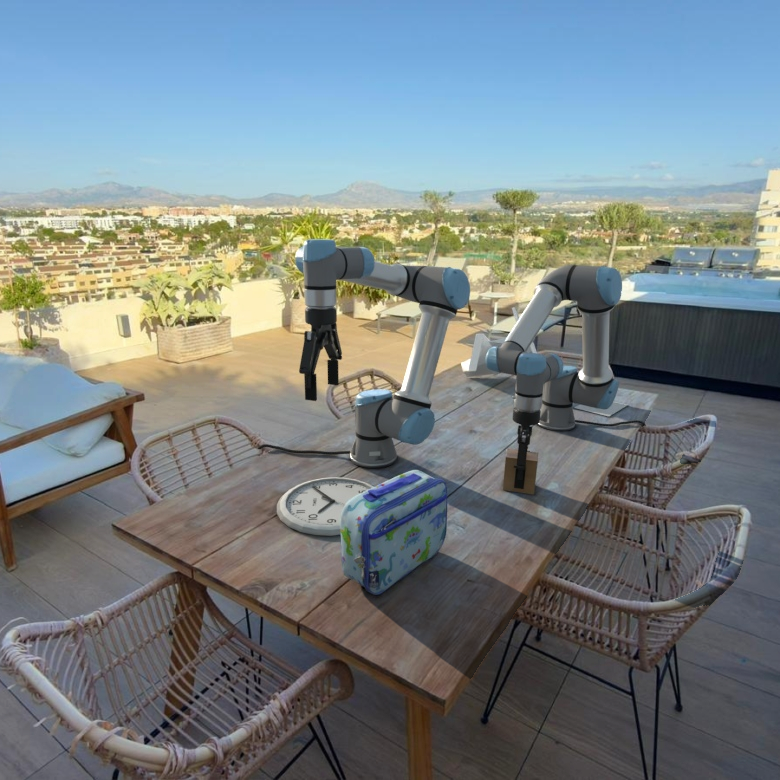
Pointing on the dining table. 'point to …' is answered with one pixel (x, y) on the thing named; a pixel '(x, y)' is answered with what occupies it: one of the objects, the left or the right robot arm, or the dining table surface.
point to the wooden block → (529, 473)
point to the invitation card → (606, 412)
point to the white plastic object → (479, 352)
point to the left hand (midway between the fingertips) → (322, 392)
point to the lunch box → (393, 529)
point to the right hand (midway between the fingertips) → (519, 481)
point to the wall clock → (318, 504)
